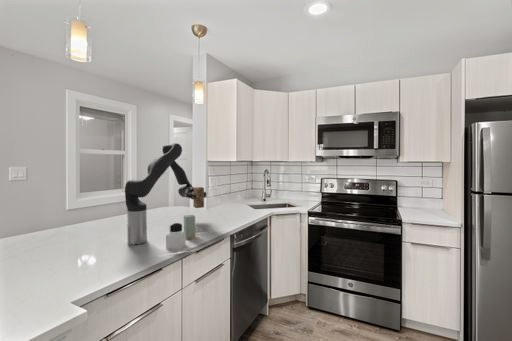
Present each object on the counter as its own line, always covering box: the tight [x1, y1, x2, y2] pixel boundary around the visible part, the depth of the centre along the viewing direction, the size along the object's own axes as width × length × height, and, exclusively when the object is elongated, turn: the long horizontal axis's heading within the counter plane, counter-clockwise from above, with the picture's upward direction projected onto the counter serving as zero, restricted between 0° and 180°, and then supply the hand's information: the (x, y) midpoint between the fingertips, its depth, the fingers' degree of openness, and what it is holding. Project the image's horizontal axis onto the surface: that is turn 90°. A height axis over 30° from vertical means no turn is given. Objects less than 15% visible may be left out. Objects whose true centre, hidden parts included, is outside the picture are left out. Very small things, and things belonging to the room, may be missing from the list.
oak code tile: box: [185, 233, 201, 242], centre depth 143 cm, size 10×10×1 cm
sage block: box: [183, 214, 196, 239], centre depth 143 cm, size 5×5×12 cm
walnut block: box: [193, 186, 205, 209], centre depth 157 cm, size 5×5×12 cm
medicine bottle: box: [165, 222, 186, 250], centre depth 128 cm, size 7×7×12 cm
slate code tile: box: [195, 226, 210, 234], centre depth 158 cm, size 10×10×1 cm
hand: (200, 196), depth 155 cm, fingers closed on walnut block, 5 cm apart
